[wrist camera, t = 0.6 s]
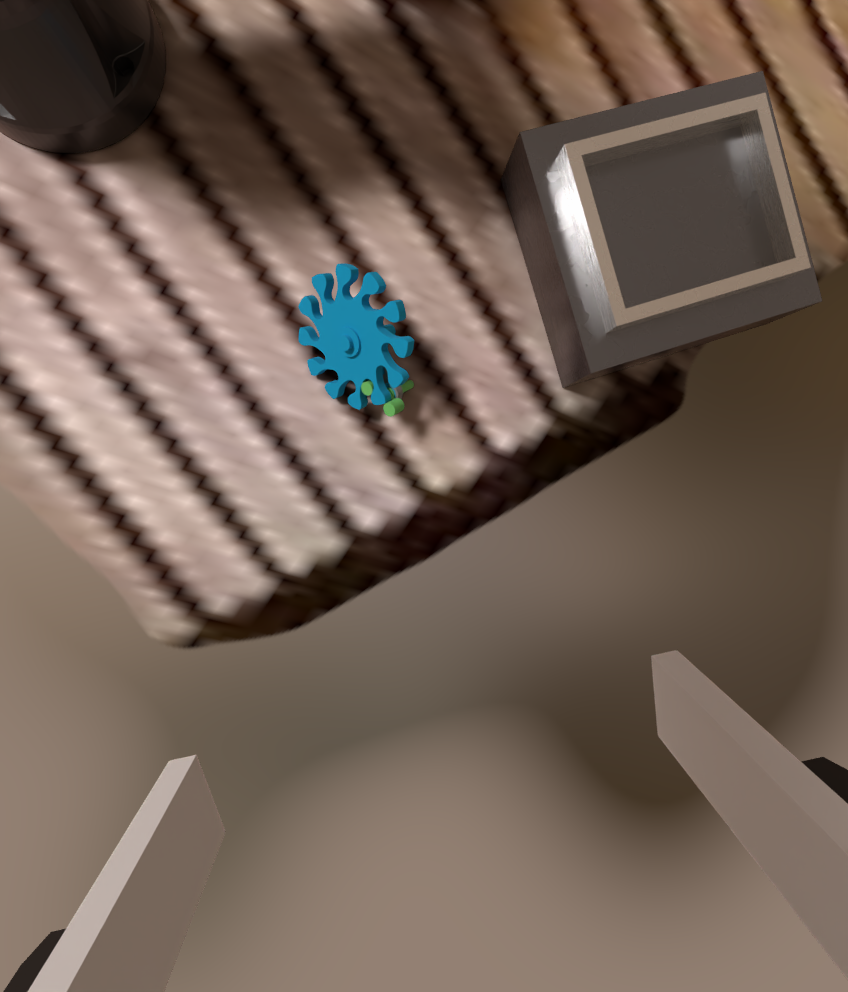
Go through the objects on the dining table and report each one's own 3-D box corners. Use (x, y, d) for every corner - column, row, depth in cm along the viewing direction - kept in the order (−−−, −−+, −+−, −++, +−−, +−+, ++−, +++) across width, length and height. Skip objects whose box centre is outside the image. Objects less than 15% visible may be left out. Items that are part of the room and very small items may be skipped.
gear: (271, 309, 34) (356, 231, 27) (323, 301, 38) (407, 232, 32) (340, 441, 36) (433, 396, 30) (382, 419, 40) (471, 376, 34)
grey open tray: (500, 179, 37) (527, 114, 30) (713, 123, 39) (780, 51, 32) (562, 387, 38) (601, 368, 31) (766, 323, 40) (842, 292, 33)
